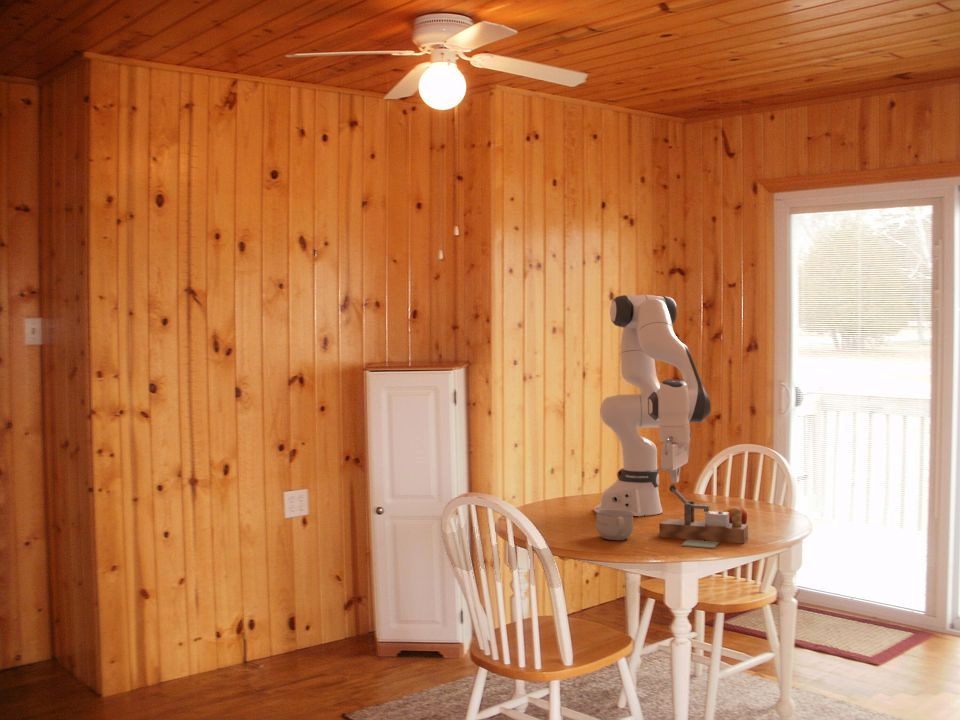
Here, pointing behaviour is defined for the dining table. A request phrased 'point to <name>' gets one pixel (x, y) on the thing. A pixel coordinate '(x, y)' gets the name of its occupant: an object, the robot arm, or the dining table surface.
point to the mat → (700, 543)
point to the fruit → (743, 517)
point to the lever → (680, 496)
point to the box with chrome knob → (717, 518)
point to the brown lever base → (704, 528)
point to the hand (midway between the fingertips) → (674, 482)
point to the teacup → (614, 523)
